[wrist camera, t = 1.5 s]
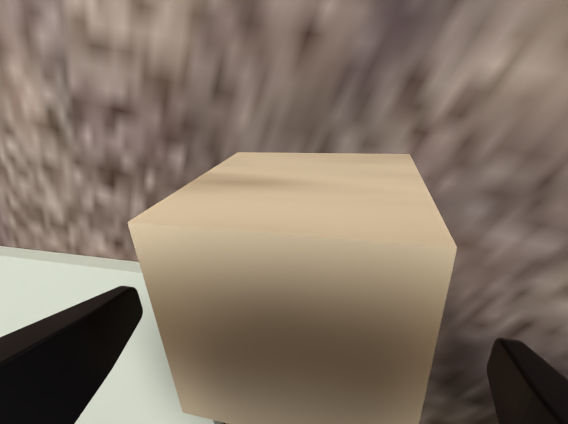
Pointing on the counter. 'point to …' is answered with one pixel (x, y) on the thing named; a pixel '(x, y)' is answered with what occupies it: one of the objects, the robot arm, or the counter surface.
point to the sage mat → (78, 288)
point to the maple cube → (299, 288)
